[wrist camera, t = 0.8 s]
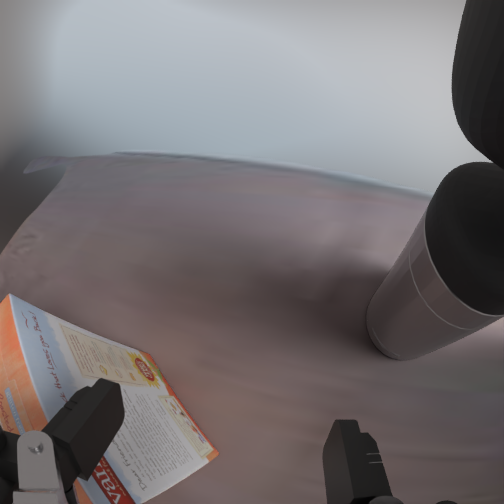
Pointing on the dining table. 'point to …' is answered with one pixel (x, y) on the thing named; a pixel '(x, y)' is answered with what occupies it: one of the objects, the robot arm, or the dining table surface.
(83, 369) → the cracker box
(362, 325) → the dining table surface
